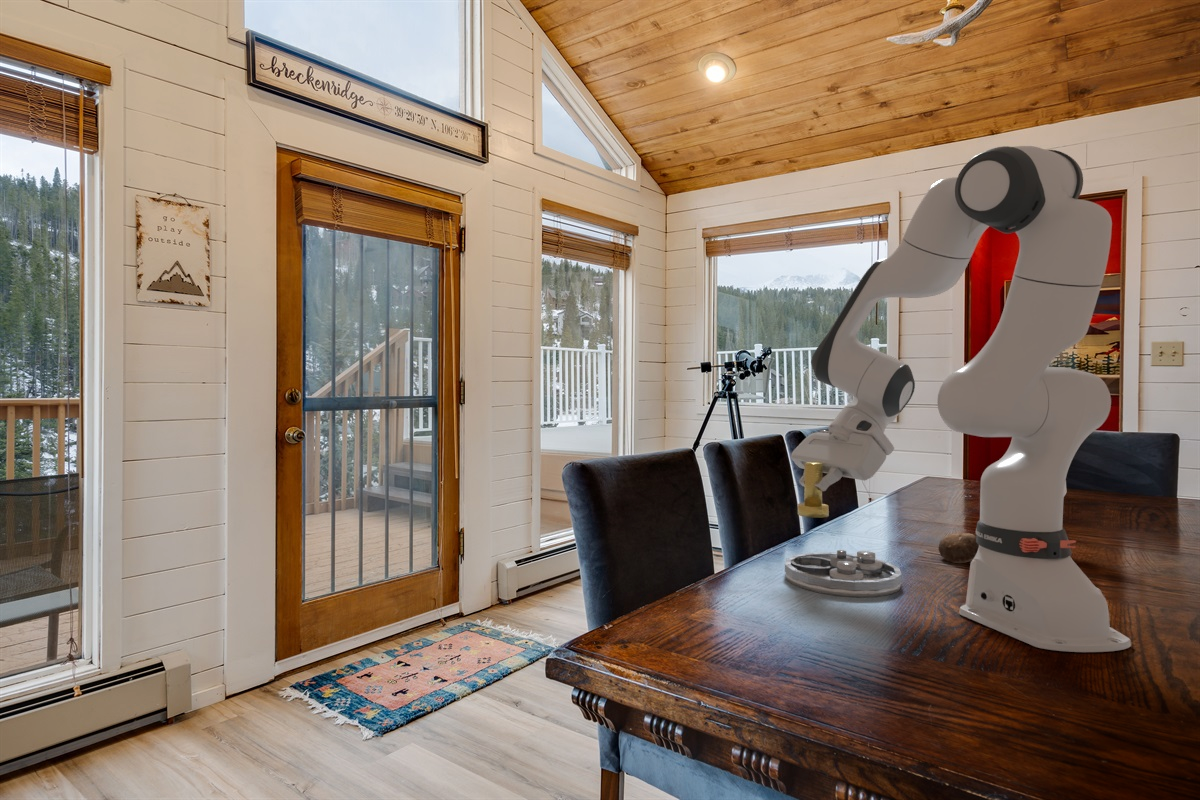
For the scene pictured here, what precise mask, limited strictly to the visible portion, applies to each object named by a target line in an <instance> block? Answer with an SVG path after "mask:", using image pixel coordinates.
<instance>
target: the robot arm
mask: <svg viewBox="0 0 1200 800" xmlns="http://www.w3.org/2000/svg"><path fill="white" fill-rule="evenodd" d="M1083 186H1084V175H1083V171H1082V168H1081V166H1080V165H1079V164H1078V162H1077V161H1076V160H1075V159H1074V158H1073V157H1071V156H1070V155H1069V154H1066V153H1064V152H1062V151H1059V150H1056V149H1044V148H1041V147H1039V146H1032V145H1019V146H1018V145H1017V146H1008V145H1007V146H997V147H993V148H989V149H987V150H985V151H982V152H981V153H978V154H977V155H975V156H973V157H972V158H971V159H970V160H969V161H967V163H965V165H964V166H963V167H962V168H961V170H960V171H959V173H958V176H955V177H954V176H953V177H946V178H943V179H940V180H938V181H936V182H935V183H933V184H932V185H931V186H930V188H929V189H928V190H927V192H926V193H925V195H924V196H923V198H922V199H921V202H920V203H919V204H918V206H917V207H916V210H915V212H914V213H913V215H912V217H911V219H910V221H909V222H908V225H907V227H906V229H905V232H904V235H903V237H902V240H901V241H900V243H899V245H898V246H897V248H896V249H895V251H893V253H892V254H891V255H889V256H888V257H887V258H880V259H878V260H876V261H875V262H874V263H873V264H871V266H869V268H867V270H866V272H865V273H864V274H863V275H862V277H861V279H860V280H859V282H857V283H858V284H857V285H856V287H855V288H854V290H853V291H852V293H851V294H850V296H849V298H848V299H847V301H846V303H845V304H844V306H843V308H842V310H841V311H840V313H839V315H838V316H837V318H836V320H835V321H834V323H833V325H832V326H831V328H830V330H829V331H828V332H827V334H826V335H825V336H824V338H823V339H822V340H821V342H820V344H819V345H818V346H817V348H816V349H815V350H814V353H813V355H812V358H811V361H810V363H811V367H812V372H813V373H814V376H815V378H816V380H817V381H818V382H820V383H822V384H826V385H829V386H831V387H833V388H837V389H838V390H840V391H843V393H846V394H848V395H850V396H852V400H851V402H849V403H848V404H847V405H845V406H844V407H843V408H842V409H841V410H840V412H839V413H838V414H837V415H836V416H835V418H834V419H833V420H832V421H831V423H830V424H829V426H828V428H827V429H828V430H825V429H822V430H820V431H817V432H813V433H810V434H808V435H807V436H806V437H805V438H804V439H803V440H802V441H801V442H800V443H799V444H798V445H797V446H796V448H794V449H793V451H792V452H791V455H790V459H791V460H792V462H794V464H795V465H796V466H797V467H798V468H800V469H803V474H802V476H801V477H800V478H799V480H798V483H799V484H800V485H801V486H802V487H805V463H806V462H816V463H822V474H823V473H824V474H826V475H824V476H822V478H819V479H818V480H817V482H816V483H815V487H816V488H817V489H818V490H820V491H822V492H826V491H827V490H828V488H829V487H830V486H832V485H833V484H835V483H836V482H838V481H840V480H841V478H842V477H843V478H849V479H853V480H854V479H855V480H859V481H867V480H869V479H871V478H872V477H874V476H875V474H876V473H877V472H878V471H879V470H880V468H881V467H882V466H883V464H884V463H885V461H886V459H887V456H890V455H891V454H892V452H894V450H895V447H894V444H892V442H891V440H890V439H889V438H888V437H887V435H886V434H885V431H886V428H887V426H888V425H890V424H891V423H893V422H894V421H895V420H896V418H897V417H898V416H899V414H900V413H901V412H902V411H903V410H904V409H905V407H906V406H907V405H908V403H909V402H910V400H911V399H912V397H913V394H914V392H915V388H916V387H915V386H916V385H915V384H916V382H915V378H914V375H913V372H912V369H911V367H910V366H909V364H907V363H905V362H903V361H902V360H900V359H897V358H896V357H894V356H891V355H889V354H887V353H884V352H882V351H881V350H878V349H876V348H873V347H871V346H869V345H867V344H864V343H862V342H861V341H860V340H859V339H858V336H857V335H858V333H859V330H861V328H862V327H863V325H864V323H865V321H866V320H867V318H868V317H869V315H870V313H871V312H872V311H873V309H874V307H875V305H876V304H877V303H878V302H879V301H880V300H881V299H887V298H888V299H889V298H904V299H921V298H930V297H935V296H938V295H941V294H944V293H945V292H948V291H949V290H950V289H952V288H953V287H954V286H955V285H956V284H957V283H958V281H960V279H961V278H962V276H963V274H964V273H965V271H966V268H967V267H968V266H969V265H968V264H969V262H970V261H971V258H972V256H973V254H974V252H975V250H976V248H977V246H978V243H979V241H980V239H981V238H982V236H983V234H984V233H985V231H986V230H987V229H989V227H991V228H993V229H994V230H997V231H998V232H1001V233H1002V234H1007V235H1009V234H1013V233H1015V234H1016V235H1017V237H1018V241H1019V250H1018V251H1019V252H1018V256H1017V260H1016V262H1015V263H1016V264H1015V266H1014V270H1013V274H1012V279H1011V282H1010V286H1009V290H1008V293H1007V297H1006V299H1005V304H1004V306H1003V309H1002V310H1003V311H1002V313H1001V316H1000V319H999V322H998V323H997V325H996V328H995V329H994V331H993V332H992V335H991V336H990V337H989V339H988V341H987V342H986V343H985V344H984V346H983V347H982V348H981V350H980V351H978V353H977V354H976V355H975V356H974V357H973V358H972V359H970V360H969V361H968V362H967V363H966V364H965V365H963V366H962V367H960V368H959V369H958V370H955V371H954V372H952V373H950V374H949V375H948V376H947V377H946V378H945V379H944V381H942V384H941V385H940V388H939V390H938V394H937V409H938V413H939V415H940V417H941V420H942V421H943V423H944V424H945V425H946V427H948V428H949V430H952V431H953V432H957V433H961V434H966V435H970V436H976V437H979V438H980V437H982V438H1011V441H1010V444H1009V446H1008V448H1007V450H1006V451H1005V453H1004V454H1003V456H1002V457H1001V458H999V460H997V461H995V462H993V463H991V464H990V465H988V466H987V467H986V468H985V469H984V471H983V472H982V475H981V477H980V489H979V490H980V494H979V495H980V496H979V499H980V500H979V505H980V506H979V520H978V521H976V528H975V536H976V542H977V544H978V545H979V548H978V551H977V553H976V555H975V557H974V559H973V560H971V561H970V563H969V564H970V566H969V573H968V581H967V590H966V598H965V599H966V600H965V604H962V605H961V606H960V607H959V612H958V613H959V615H961V616H962V617H965V618H967V619H969V620H972V621H974V622H976V623H979V624H980V625H981V624H982V625H983V626H985V627H988V628H990V629H993V630H996V631H997V632H999V633H1002V634H1004V635H1007V636H1009V637H1011V638H1013V639H1016V640H1019V641H1021V642H1024V643H1026V644H1029V645H1030V646H1032V647H1035V648H1039V649H1042V650H1043V649H1044V650H1050V651H1057V652H1058V651H1059V652H1068V653H1071V652H1072V653H1073V652H1074V653H1104V652H1107V653H1108V652H1115V651H1122V650H1126V649H1129V648H1130V647H1132V641H1131V639H1130V638H1129V637H1128V636H1126V635H1124V634H1123V633H1121V632H1120V631H1118V630H1116V629H1114V628H1113V627H1110V626H1111V625H1110V612H1109V607H1108V602H1107V599H1106V597H1105V595H1103V593H1102V590H1101V589H1100V588H1098V587H1096V586H1095V584H1094V583H1093V582H1092V581H1091V580H1090V578H1088V576H1087V575H1086V574H1085V573H1084V572H1083V571H1082V569H1081V568H1080V567H1079V566H1078V565H1077V563H1076V562H1075V561H1074V560H1073V559H1072V557H1071V555H1072V550H1071V549H1075V548H1077V546H1074V545H1070V544H1074V543H1077V540H1073V539H1072V540H1071V539H1070V540H1069V538H1068V535H1067V531H1066V530H1065V528H1064V527H1063V520H1064V519H1063V518H1064V516H1063V515H1064V499H1065V498H1064V497H1065V496H1064V487H1065V480H1066V479H1067V475H1068V472H1069V468H1070V466H1071V464H1072V461H1073V459H1074V457H1075V456H1076V453H1077V451H1078V450H1079V448H1080V446H1081V445H1082V444H1083V443H1084V441H1085V440H1086V439H1087V438H1088V437H1089V436H1090V435H1091V434H1092V433H1093V432H1095V431H1096V430H1097V429H1099V428H1100V427H1102V426H1103V424H1104V423H1105V422H1106V421H1107V419H1108V417H1109V415H1110V412H1111V407H1112V406H1111V405H1112V397H1111V393H1110V390H1109V387H1108V386H1107V384H1106V383H1105V381H1104V380H1103V378H1101V377H1100V376H1098V375H1096V374H1095V373H1092V372H1088V371H1084V370H1080V369H1076V368H1069V367H1065V366H1061V367H1060V366H1058V367H1057V366H1049V365H1050V364H1051V363H1052V362H1053V360H1055V358H1056V357H1058V356H1059V355H1060V354H1062V353H1063V352H1064V351H1066V350H1068V349H1070V348H1071V347H1073V346H1075V345H1077V344H1079V342H1080V341H1082V340H1083V339H1084V338H1085V336H1086V335H1087V333H1088V331H1089V328H1090V325H1091V321H1092V318H1093V314H1094V313H1095V308H1096V305H1097V301H1098V298H1099V295H1100V291H1101V288H1102V284H1103V281H1104V278H1105V274H1106V270H1107V265H1108V262H1109V255H1110V250H1111V249H1110V248H1111V240H1112V228H1113V227H1112V226H1113V222H1112V216H1111V215H1110V213H1109V211H1108V210H1107V209H1106V208H1104V207H1103V206H1102V205H1100V204H1098V203H1095V202H1093V201H1090V200H1086V199H1080V198H1079V197H1080V195H1081V193H1082V190H1083ZM1066 481H1067V480H1066Z"/></svg>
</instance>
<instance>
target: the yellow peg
mask: <svg viewBox="0 0 1200 800" xmlns="http://www.w3.org/2000/svg"><path fill="white" fill-rule="evenodd" d="M819 478H823V472H822V463H816V462H806V463H805V487H804V493H803V495H804V498H803V499H804V500H803V501H804V502H800V503H797V516H801V517H804V518H812V519H813V518H814V519H817V518H818V519H820V518H823V519H824V518H828V517H829V516H830V515H829V513H830V511H829V505H828V504H825V503H823V491H820V490H818V489H817V488H816V487H815V483H816V482H817V480H818V479H819Z"/></svg>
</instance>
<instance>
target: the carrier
mask: <svg viewBox="0 0 1200 800" xmlns="http://www.w3.org/2000/svg"><path fill="white" fill-rule="evenodd" d="M784 573H785V577H784V578H785V579H786V580H787V581H788V583H790V584H792V585H794V586H795V587H798V588H801V589H802V590H803V589H804V590H806V591H810V592H815V593H818V594H819V593H820V594H823V595H830V596H838V597H847V598H877V597H883V596H890V595H892V594H896V593H897V592H899V591H900V589H901V583H902V575H903V574H902V572H901V569H900V567H898V566H896V565H894V564H892V563H891V562H887V561H884V560H881V559H877V558H876V553H875V552H873V551H872V552H871V551H870V550H869V551H866V550H860V551H859V550H858V551H857V552H856V554H853V553H847V550H843V549H839V550H836V552H809V553H808V552H807V553H800V554H795V555H792V556H790V557H788V558H786V559H785V563H784Z"/></svg>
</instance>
